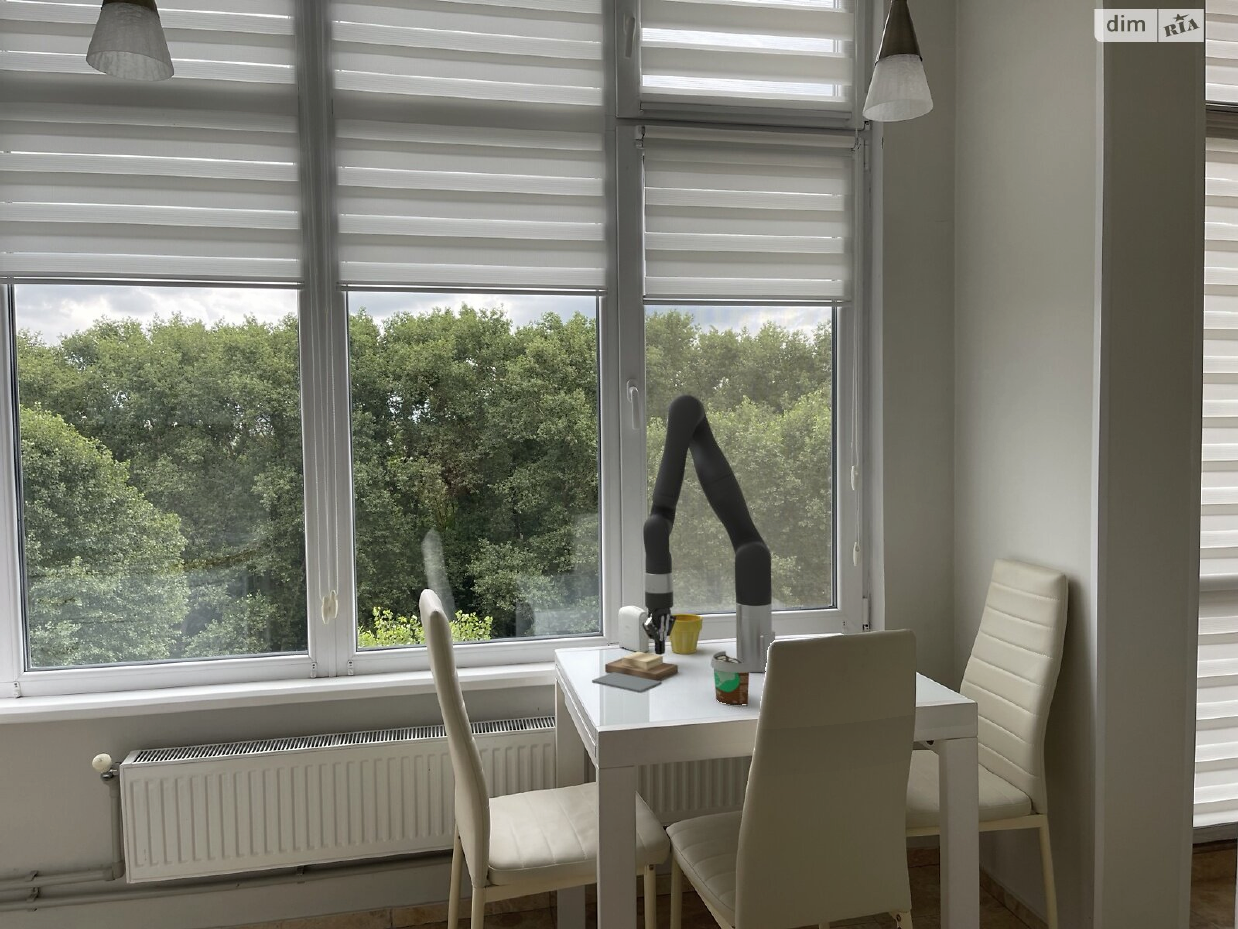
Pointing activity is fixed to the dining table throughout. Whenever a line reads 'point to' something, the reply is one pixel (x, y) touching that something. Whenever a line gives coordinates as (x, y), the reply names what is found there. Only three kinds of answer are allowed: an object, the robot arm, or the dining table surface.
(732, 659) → the food container
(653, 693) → the dining table surface
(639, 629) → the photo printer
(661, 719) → the dining table surface
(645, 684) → the mat
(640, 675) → the brown wooden block
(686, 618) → the plant pot
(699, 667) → the dining table surface
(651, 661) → the cream flat block
